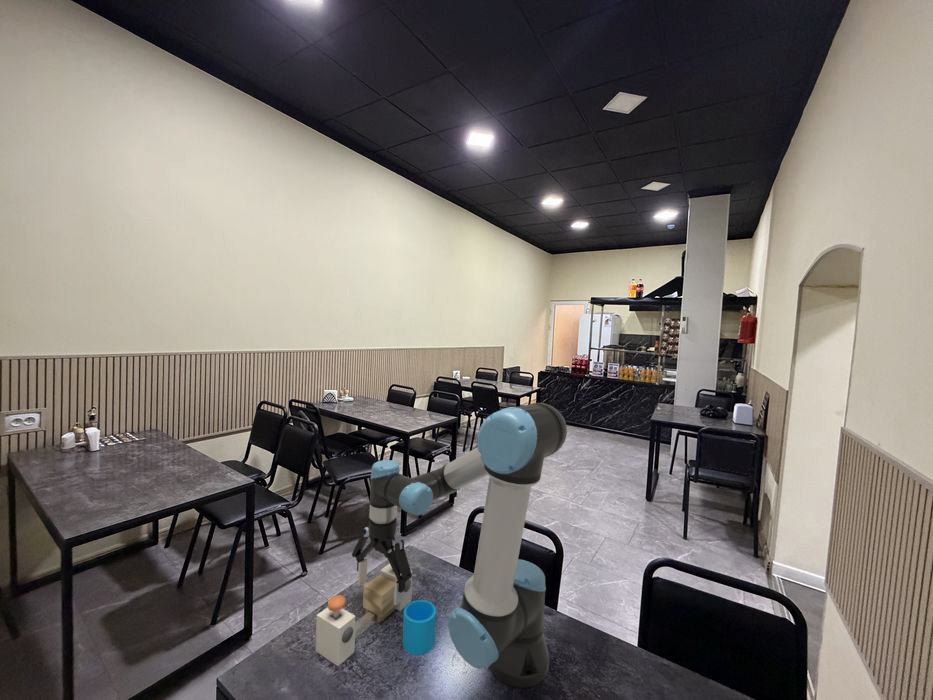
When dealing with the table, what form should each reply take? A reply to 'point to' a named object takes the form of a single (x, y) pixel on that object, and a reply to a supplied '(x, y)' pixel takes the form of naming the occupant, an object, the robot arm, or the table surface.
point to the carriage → (379, 597)
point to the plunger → (336, 605)
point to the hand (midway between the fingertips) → (379, 592)
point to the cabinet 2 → (390, 575)
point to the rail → (364, 623)
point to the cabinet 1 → (335, 635)
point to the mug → (419, 627)
